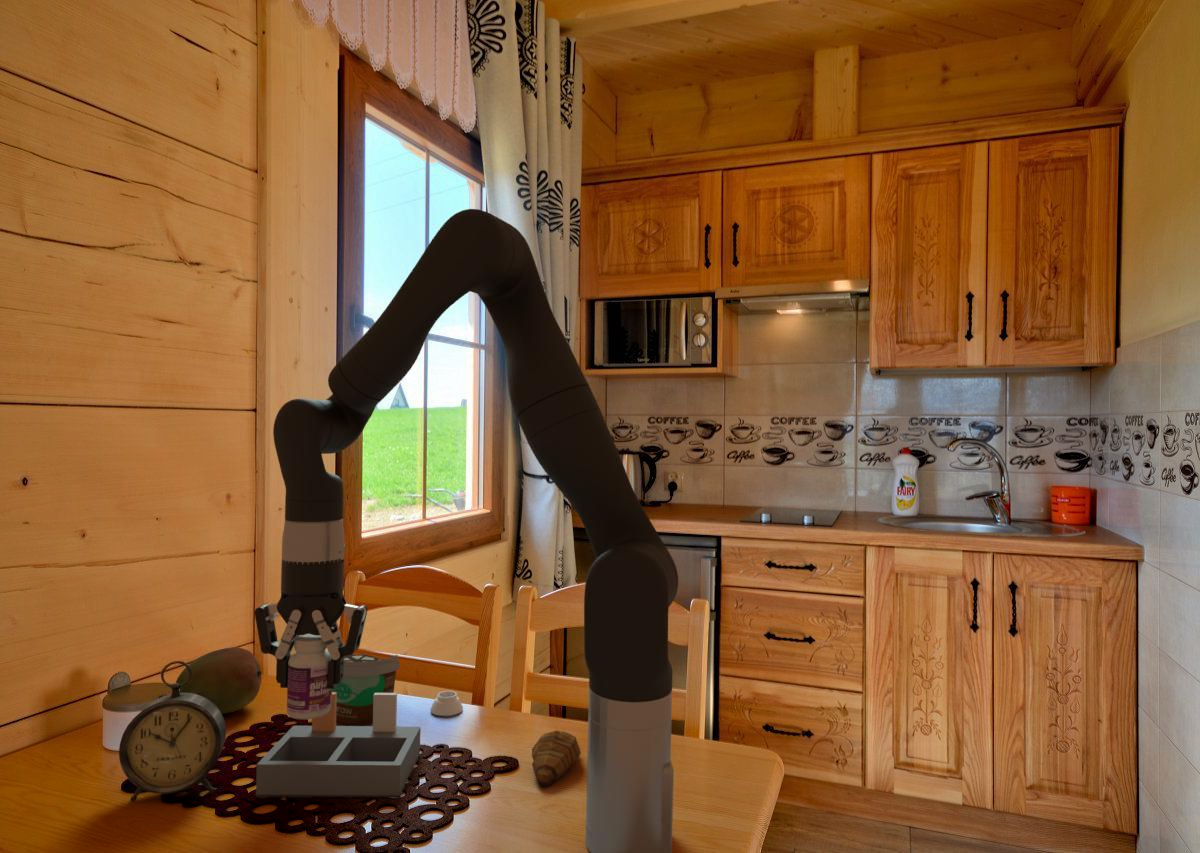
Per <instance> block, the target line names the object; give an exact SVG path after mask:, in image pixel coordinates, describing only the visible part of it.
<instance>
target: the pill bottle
mask: <svg viewBox="0 0 1200 853" xmlns="http://www.w3.org/2000/svg"><path fill="white" fill-rule="evenodd" d="M293 649H294V651H295V652H294V653H293V654H291V655H292V656H291V657H290V658H289V661H288V683H287V688H286V689H287V690H286V691H287V693H286V695H287V696H286V714H287V715H288V716H289V718H292V719H295V720H312V719H313V718H317V717H321V716H323V715H325V714H327V713H328V712H329V711H330V709H331V698H332V689H328V663H329V660H330V659H331V657H330V654H329V652H328V649H327V646H326V645H325V644H324V643H323V641H322V638H321V635H312V634H305V635H299V637H297V638H295V642H294V646H293Z"/></svg>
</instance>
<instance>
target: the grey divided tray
mask: <svg viewBox="0 0 1200 853" xmlns="http://www.w3.org/2000/svg"><path fill="white" fill-rule="evenodd" d="M336 706H337V692H332V698H331V709H330V711H329V712H328V713H327V714H325V715H323V716H321V717H317V718H313V719H311V725H292V726H291V728H290V729H288V731H287V732H286V733H285V734H284V735H283V736H282V737H281V738H280V739H279V740H278V742H277V743H275V744H274V746H273V747H271V749H270V750H268V752H267V753H266V754H265V755H264V756H263V757H262V758H261V759H260V761H258V762H257V763H256V779H255V780H256V781H255V798H312V797H311V796H313V797H314V796H315V797H320V796H321V797H332V796H333V797H344V798H346V797H347V798H346V799H348V798H349V799H350V798H352V797H372V798H371V799H373V798H374V797H375V798H374V799H381V798H380V797H387V798H386V799H400V798H401V796H402V794H403V792H402V791H404V790H403V788H404V786H405V784H406V782H407V783H408V781H409V779H408V777H409V776H410V777H411V775H412V773H413V771H414V769H415V767H416V765H417V763H416V762H418V760H419V758H418V757H420V756H421V726H400V725H399V726H397V720H398V719H397V717H398V714H397V713H398V711H397V709H398V708H397V707H398V692H394V693H375V694H374V697H373V725H369V726H343V725H337V723H336ZM419 755H420V756H419ZM415 764H416V765H415ZM414 766H415V767H414ZM413 768H414V769H413ZM412 770H413V771H412ZM411 772H412V773H411ZM410 774H411V775H410ZM410 777H409V778H410ZM407 780H408V781H407ZM406 785H407V784H406ZM405 787H406V786H405ZM404 789H405V788H404ZM377 797H379V798H377ZM352 799H353V798H352Z"/></svg>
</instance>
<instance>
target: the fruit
mask: <svg viewBox="0 0 1200 853" xmlns="http://www.w3.org/2000/svg"><path fill="white" fill-rule="evenodd" d="M188 665H189V666H190V668H191V670H192V675H191V678H190V680H189V682H188V683H187V684H185V685H184V686H181V687H180V688H179V689H180V693H193V694H197V695H200V696H202V697H205V698H206V699H208V700H210V701H211V702H212V703H213V704H214V705H215V706H216V707H217V708H218V709H219V710H220V712H221V714H222V715H224V714H231V713H233V712H237V711H239V710H241V709H243V708H245V707H247V706H248V705H249V704H251V702H253V701H254V700H255V699H256V697H257V696H258V694H259V691H260V688H261V685H262V678H263V677H262V670H261V665H260V663H259V660H257V658H256V656H255V655H254V653H253V652H251V651H250V650H248V649H246V648H242V647H237V646H236V647H232V646H231V647H226V648H225V647H224V648H221V649H217V650H213V651H210V652H207V653H205V654H203V655H201V656H200V657H197V658H196V659H195V660H193V661H192V662H190V663H189V664H188ZM188 677H189V670H188V668H187V667H186V666H185V668H184V669H183V670H181V672H180V674H179V676H178V677H177V678H176V681H175V683H179V684H180V685H181V684H183V683H184V682H186V681H187V679H188Z"/></svg>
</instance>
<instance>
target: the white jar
mask: <svg viewBox="0 0 1200 853" xmlns="http://www.w3.org/2000/svg"><path fill="white" fill-rule="evenodd" d="M463 710H464V707H463V704H462V702H461V699H460V698H459V697H458V693H457V692H456V691H453V690H445V691H444V690H443V691H440V692H438V693H437V695H436V697H435V698H434V701H433V702H432V704H431V707H430V712H431V714H433V715H434V716H436V717H437V716H438V717H452V716H456V715H459V714H460V713H462V712H463Z"/></svg>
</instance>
